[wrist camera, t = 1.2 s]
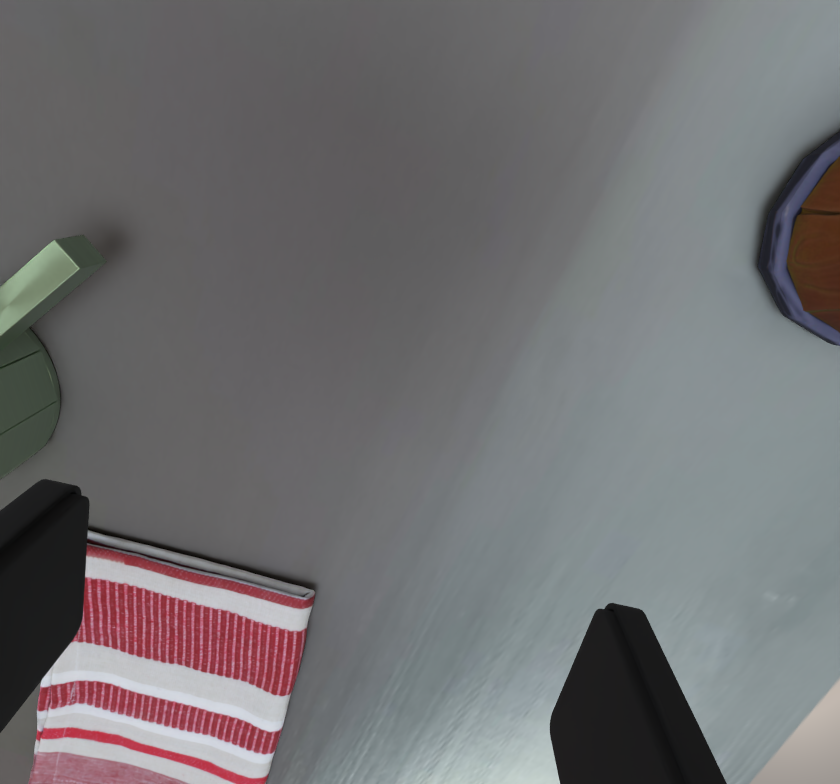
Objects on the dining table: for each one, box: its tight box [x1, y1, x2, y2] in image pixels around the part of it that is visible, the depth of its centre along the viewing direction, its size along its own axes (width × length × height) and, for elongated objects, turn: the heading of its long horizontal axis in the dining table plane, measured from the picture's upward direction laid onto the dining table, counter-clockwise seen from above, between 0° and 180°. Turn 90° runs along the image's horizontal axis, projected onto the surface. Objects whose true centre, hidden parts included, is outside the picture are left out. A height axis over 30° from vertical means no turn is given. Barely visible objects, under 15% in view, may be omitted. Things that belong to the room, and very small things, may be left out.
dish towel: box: [28, 530, 315, 784], centre depth 41 cm, size 17×23×3 cm
